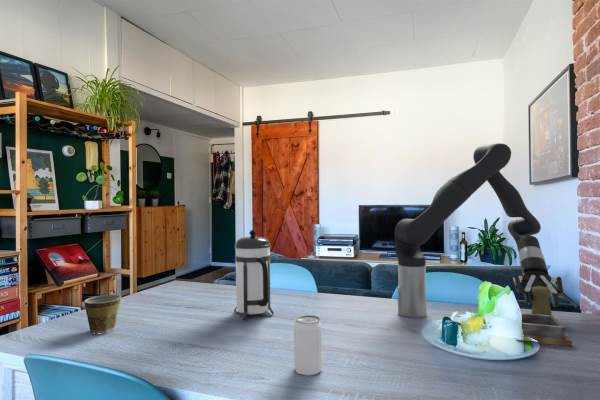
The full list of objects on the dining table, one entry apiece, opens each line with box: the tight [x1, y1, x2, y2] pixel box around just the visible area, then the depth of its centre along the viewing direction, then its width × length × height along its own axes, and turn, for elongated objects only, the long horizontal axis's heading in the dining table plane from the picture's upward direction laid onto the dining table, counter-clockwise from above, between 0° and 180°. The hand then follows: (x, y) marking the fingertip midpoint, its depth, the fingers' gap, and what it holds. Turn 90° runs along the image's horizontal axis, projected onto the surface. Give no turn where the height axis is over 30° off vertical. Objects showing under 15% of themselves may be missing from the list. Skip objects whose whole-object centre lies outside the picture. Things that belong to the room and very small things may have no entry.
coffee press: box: [233, 229, 275, 321], centre depth 125 cm, size 17×16×30 cm
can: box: [293, 314, 323, 377], centre depth 83 cm, size 6×6×12 cm
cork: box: [530, 286, 553, 316], centre depth 115 cm, size 6×6×11 cm
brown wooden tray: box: [521, 312, 573, 347], centre depth 103 cm, size 13×13×4 cm
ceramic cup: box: [83, 294, 121, 335], centre depth 112 cm, size 13×10×10 cm
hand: (542, 304), depth 114 cm, fingers open, 6 cm apart
